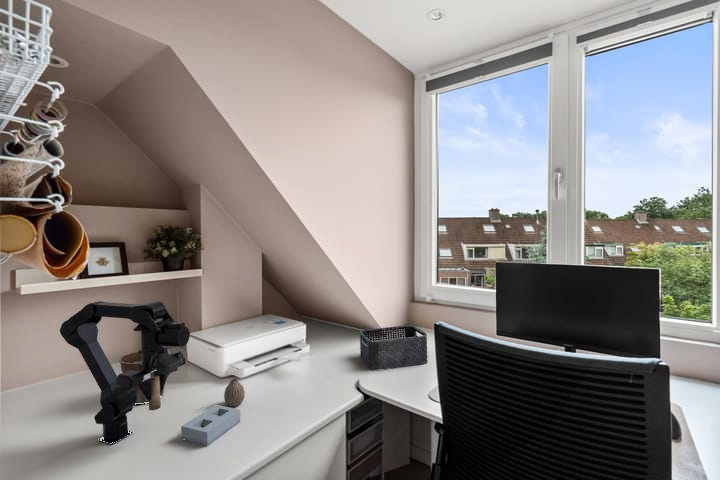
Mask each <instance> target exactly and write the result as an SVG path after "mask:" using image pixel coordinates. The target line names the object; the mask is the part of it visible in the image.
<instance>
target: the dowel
mask: <svg viewBox="0 0 720 480" xmlns="http://www.w3.org/2000/svg"><path fill="white" fill-rule="evenodd" d="M151 378H153V379H154V380H153V382H152V383H151V391H152V397H151V400H150V401H149V403H148V410H149V411H157V410H159V409H160V408H161V406H162V405H161V403H162V402H161V398H160V376H152V377H151Z"/></svg>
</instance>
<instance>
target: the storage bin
mask: <svg viewBox="0 0 720 480" xmlns="http://www.w3.org/2000/svg"><path fill="white" fill-rule="evenodd" d="M417 333H418V334H420V335H418V334H417ZM427 337H428V333H427V332H424V330H422V329H420V328H418V327H416V326H415V325H410V324H407V325H397V326H396V325H395V326H389V327H388V326H387V327H379V328H371V329H362V330H360V331H359V342H360V343H359V346H360V347H359V348H360V350H359V351H360V354H359V355H360V360H361V361H362V362H363V364H364V365H365V366H366V367H367V369H369V370H370V371H378V370H377V369H383V370H388V369H387V368H391V369H397V368H396V367H398V368H404V367H411V366H419V365H424V364H426V363H428V338H427Z"/></svg>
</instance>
